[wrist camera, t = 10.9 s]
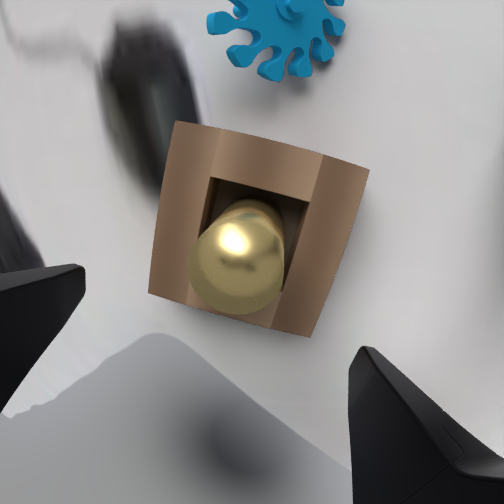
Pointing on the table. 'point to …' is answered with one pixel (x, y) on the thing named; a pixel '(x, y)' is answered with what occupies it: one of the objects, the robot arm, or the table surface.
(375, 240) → the table surface
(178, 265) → the socket block
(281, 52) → the gear
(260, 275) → the pin
